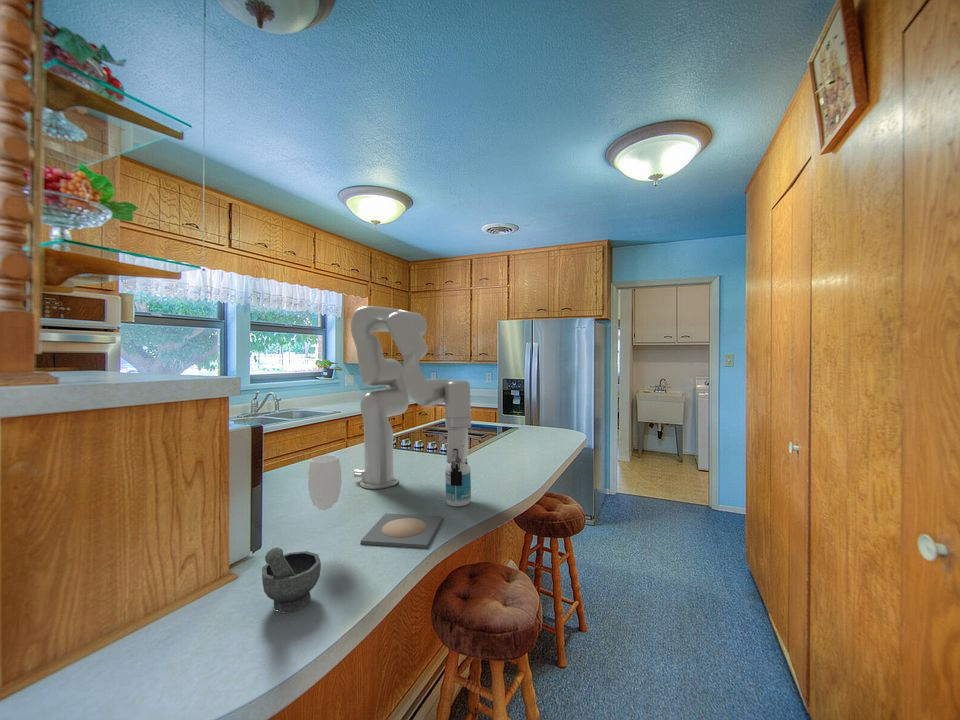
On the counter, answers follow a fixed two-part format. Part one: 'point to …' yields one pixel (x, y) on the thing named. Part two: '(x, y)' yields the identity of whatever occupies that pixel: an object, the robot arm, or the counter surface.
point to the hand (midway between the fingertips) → (459, 480)
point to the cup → (324, 481)
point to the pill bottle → (458, 487)
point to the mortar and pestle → (290, 578)
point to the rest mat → (403, 530)
